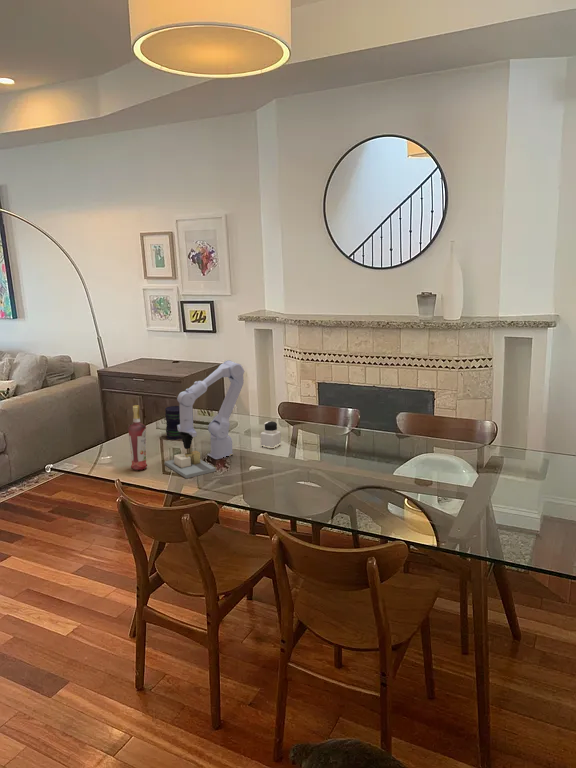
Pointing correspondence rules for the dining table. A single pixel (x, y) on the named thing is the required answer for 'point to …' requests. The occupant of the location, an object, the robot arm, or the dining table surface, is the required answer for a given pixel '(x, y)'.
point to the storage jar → (172, 422)
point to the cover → (182, 460)
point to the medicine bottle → (270, 434)
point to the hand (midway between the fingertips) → (187, 448)
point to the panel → (191, 468)
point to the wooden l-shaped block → (194, 457)
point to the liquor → (137, 441)
